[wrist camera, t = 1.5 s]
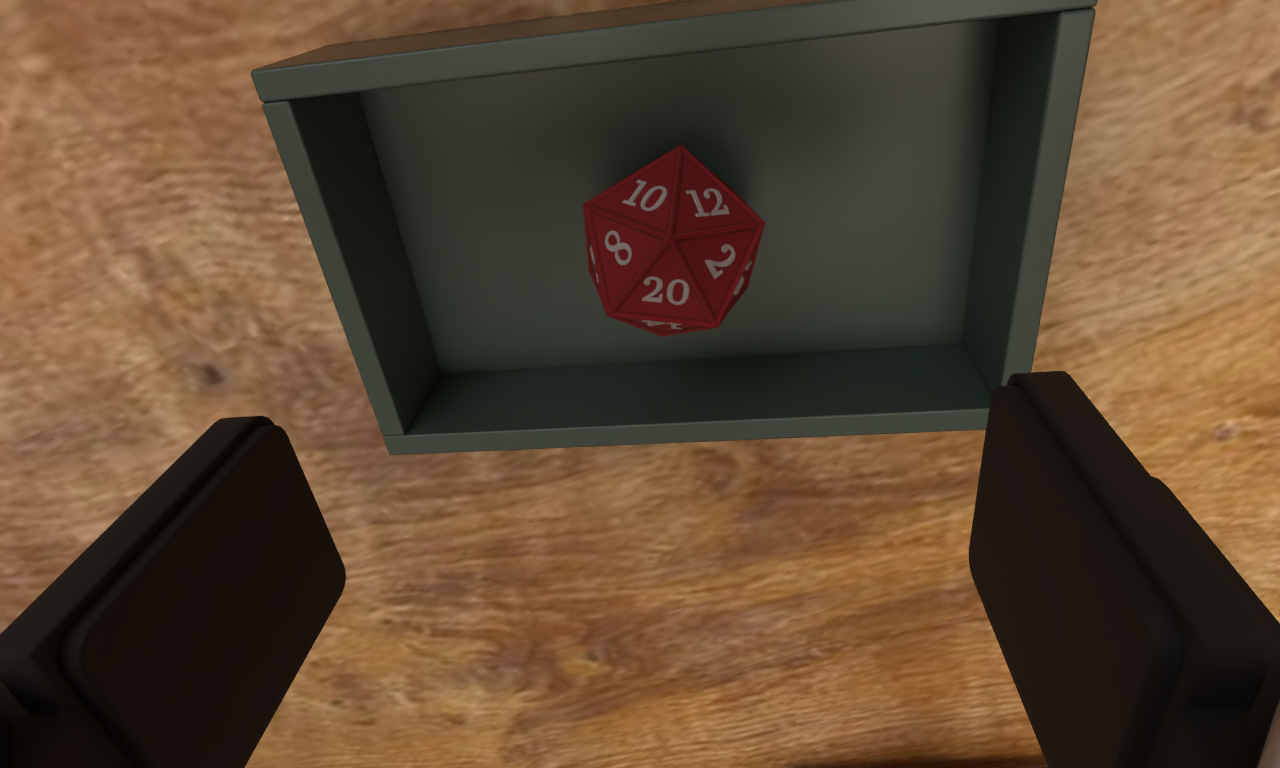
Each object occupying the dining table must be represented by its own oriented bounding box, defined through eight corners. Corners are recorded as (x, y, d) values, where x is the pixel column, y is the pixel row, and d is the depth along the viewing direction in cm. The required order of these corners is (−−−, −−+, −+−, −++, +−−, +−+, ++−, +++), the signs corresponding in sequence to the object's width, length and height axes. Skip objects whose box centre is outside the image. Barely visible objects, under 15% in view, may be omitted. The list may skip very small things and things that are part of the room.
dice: (594, 292, 19) (567, 371, 16) (602, 113, 17) (572, 162, 14) (739, 307, 19) (743, 391, 16) (768, 130, 17) (780, 183, 13)
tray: (327, 44, 17) (247, 70, 14) (1031, -44, 15) (1106, -34, 12) (432, 385, 22) (388, 455, 19) (978, 354, 20) (1022, 428, 17)
